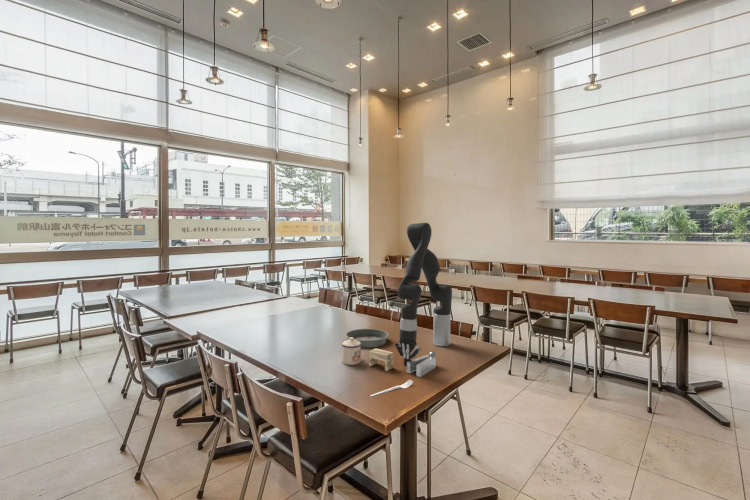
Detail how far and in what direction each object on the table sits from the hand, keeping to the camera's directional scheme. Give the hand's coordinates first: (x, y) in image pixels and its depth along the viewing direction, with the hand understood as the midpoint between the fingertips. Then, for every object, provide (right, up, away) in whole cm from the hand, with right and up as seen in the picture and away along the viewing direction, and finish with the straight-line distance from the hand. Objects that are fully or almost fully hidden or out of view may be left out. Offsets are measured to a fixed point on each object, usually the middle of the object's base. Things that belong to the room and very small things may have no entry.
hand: (407, 366), depth 161 cm
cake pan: (-19, 0, +42) cm, 46 cm away
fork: (-8, -3, -21) cm, 23 cm away
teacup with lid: (-25, -1, +10) cm, 27 cm away
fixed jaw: (+8, -2, -3) cm, 9 cm away
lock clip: (-12, -1, +3) cm, 12 cm away
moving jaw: (+7, -1, 0) cm, 7 cm away
